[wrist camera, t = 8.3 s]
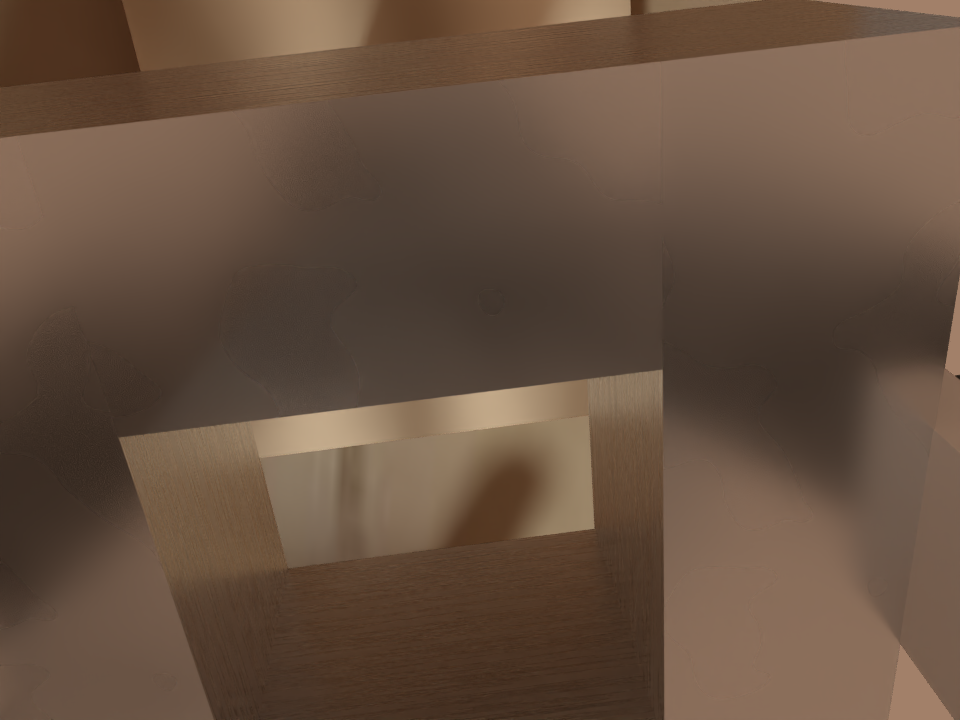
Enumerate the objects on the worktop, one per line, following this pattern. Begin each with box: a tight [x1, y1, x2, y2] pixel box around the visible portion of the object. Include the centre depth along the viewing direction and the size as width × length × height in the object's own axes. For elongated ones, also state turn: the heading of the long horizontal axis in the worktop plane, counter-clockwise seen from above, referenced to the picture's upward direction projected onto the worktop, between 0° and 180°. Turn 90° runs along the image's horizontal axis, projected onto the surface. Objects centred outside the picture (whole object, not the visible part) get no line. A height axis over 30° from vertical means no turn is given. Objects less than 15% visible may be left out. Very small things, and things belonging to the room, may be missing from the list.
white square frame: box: [0, 0, 960, 720], centre depth 10 cm, size 10×10×4 cm
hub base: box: [122, 0, 631, 458], centre depth 23 cm, size 14×18×10 cm
